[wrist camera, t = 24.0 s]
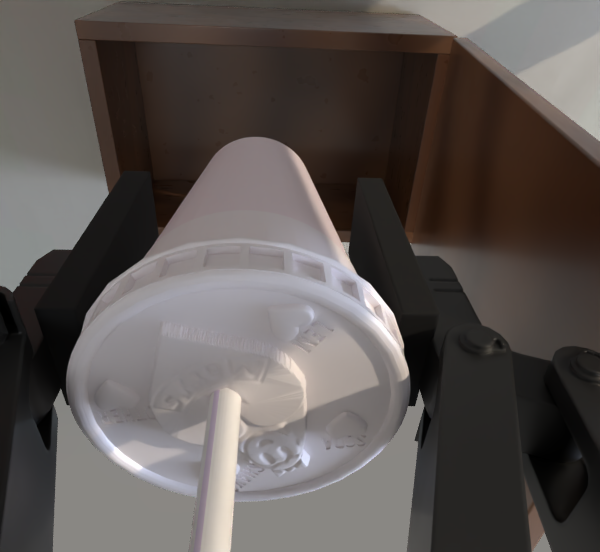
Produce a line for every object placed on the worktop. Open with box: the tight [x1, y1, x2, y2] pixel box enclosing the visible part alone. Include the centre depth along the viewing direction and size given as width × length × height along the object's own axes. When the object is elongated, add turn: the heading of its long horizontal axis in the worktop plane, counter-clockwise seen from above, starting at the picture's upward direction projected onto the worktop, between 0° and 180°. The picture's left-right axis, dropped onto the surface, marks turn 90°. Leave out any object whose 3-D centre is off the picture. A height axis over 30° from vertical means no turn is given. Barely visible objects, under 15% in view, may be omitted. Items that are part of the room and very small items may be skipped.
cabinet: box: [75, 2, 457, 243], centre depth 32 cm, size 20×13×8 cm, turn 88°
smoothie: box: [66, 137, 410, 552], centre depth 11 cm, size 6×6×14 cm
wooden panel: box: [411, 38, 600, 551], centre depth 20 cm, size 21×13×8 cm
